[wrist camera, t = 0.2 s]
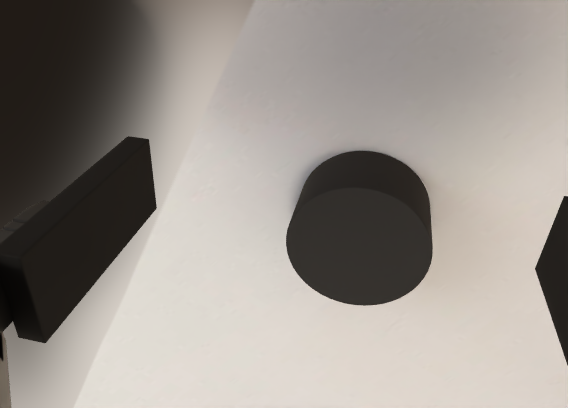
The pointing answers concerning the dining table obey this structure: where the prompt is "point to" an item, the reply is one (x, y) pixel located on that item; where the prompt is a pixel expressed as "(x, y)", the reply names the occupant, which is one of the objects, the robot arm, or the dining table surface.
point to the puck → (361, 229)
